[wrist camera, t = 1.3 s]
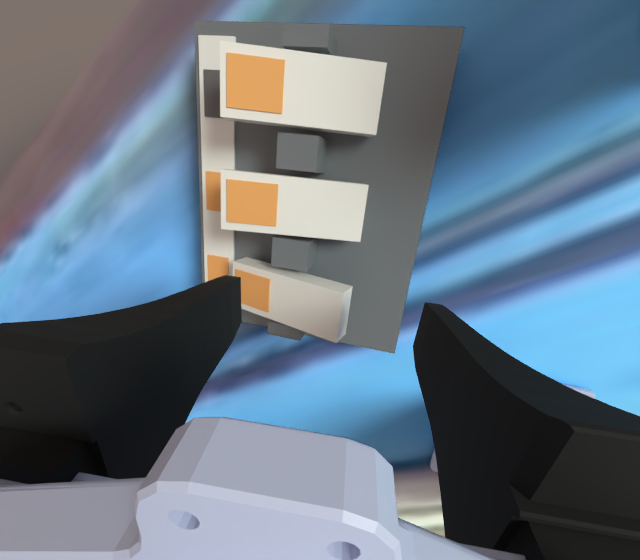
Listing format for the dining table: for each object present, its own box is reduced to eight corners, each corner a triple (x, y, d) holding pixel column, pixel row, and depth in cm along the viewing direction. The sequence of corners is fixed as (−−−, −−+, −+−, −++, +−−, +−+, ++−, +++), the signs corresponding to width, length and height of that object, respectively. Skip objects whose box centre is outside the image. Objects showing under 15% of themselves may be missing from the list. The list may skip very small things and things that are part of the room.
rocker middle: (356, 237, 17) (360, 242, 16) (227, 224, 16) (220, 229, 15) (364, 183, 16) (369, 185, 15) (227, 169, 16) (220, 169, 14)
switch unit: (394, 334, 21) (394, 372, 17) (221, 299, 24) (184, 326, 19) (454, 48, 16) (475, 2, 12) (220, 40, 18) (167, 0, 14)
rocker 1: (371, 137, 15) (376, 134, 14) (226, 120, 15) (219, 116, 14) (380, 70, 14) (387, 61, 13) (226, 50, 14) (219, 39, 13)
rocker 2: (345, 333, 17) (335, 343, 16) (245, 299, 20) (231, 305, 19) (352, 286, 16) (342, 293, 15) (246, 256, 19) (231, 261, 18)
